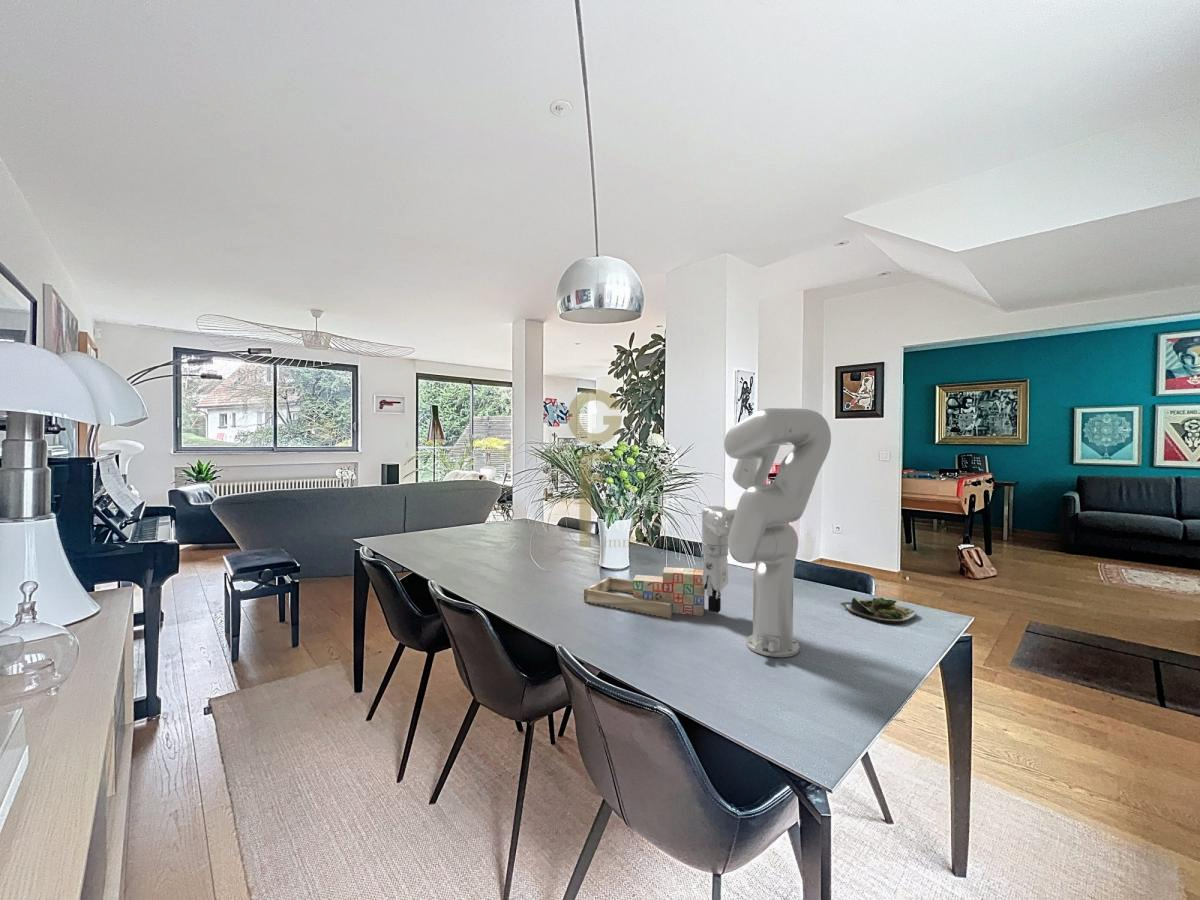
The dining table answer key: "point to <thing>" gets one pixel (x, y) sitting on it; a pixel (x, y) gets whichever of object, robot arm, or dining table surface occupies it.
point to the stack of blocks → (674, 589)
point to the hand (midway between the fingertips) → (714, 610)
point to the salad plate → (879, 610)
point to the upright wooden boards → (624, 598)
